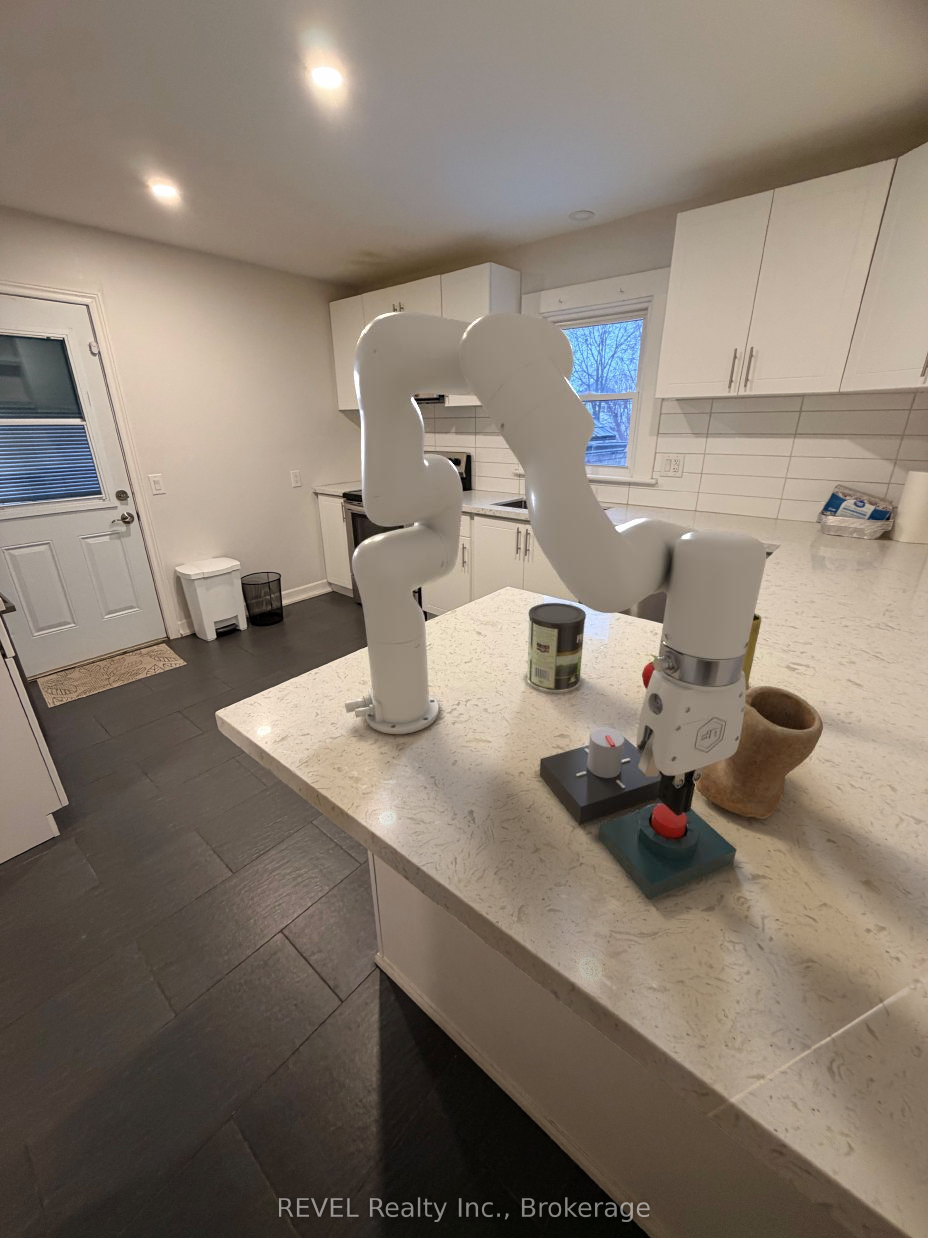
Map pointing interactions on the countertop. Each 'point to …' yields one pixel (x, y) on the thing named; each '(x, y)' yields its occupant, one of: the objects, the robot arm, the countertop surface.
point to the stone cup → (763, 753)
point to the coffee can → (555, 647)
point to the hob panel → (597, 784)
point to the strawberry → (648, 672)
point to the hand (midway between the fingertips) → (673, 805)
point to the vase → (751, 647)
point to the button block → (664, 851)
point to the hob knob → (605, 752)
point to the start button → (668, 822)
